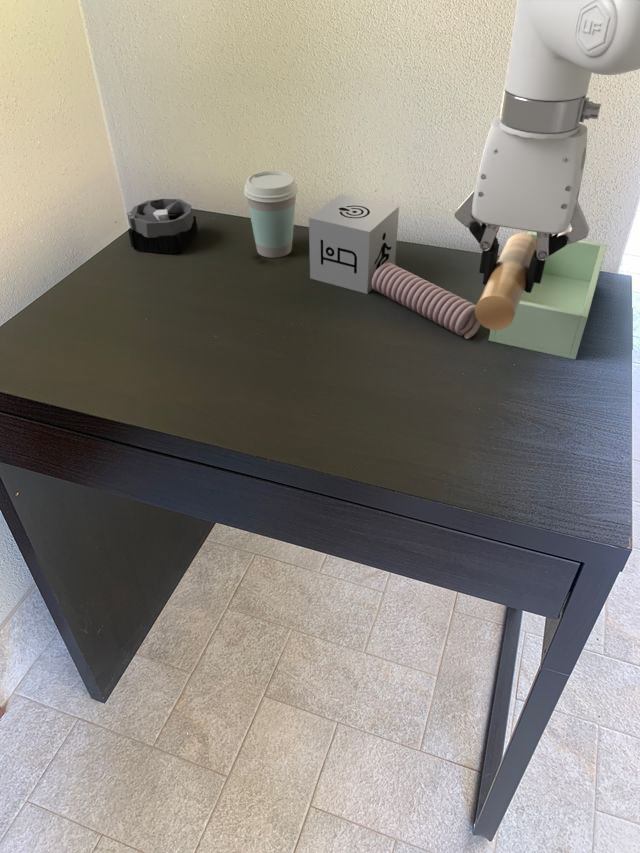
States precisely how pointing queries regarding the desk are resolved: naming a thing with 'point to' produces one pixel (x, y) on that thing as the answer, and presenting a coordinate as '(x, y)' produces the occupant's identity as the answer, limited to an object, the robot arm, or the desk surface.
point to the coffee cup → (272, 211)
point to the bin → (556, 302)
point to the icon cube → (352, 241)
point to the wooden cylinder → (506, 283)
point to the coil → (407, 286)
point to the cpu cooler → (162, 226)
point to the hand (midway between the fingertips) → (509, 281)
